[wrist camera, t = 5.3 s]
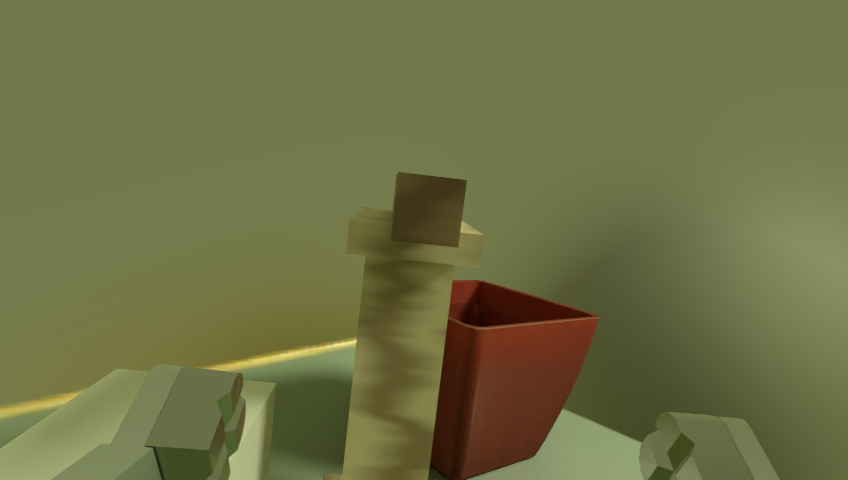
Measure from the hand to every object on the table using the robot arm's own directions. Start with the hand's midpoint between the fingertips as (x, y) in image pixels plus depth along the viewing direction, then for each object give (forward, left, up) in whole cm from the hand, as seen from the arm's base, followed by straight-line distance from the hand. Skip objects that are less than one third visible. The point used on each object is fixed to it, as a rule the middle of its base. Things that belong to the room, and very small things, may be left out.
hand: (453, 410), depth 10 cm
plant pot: (-9, -48, -25) cm, 54 cm away
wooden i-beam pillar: (0, -29, -24) cm, 37 cm away
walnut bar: (0, -25, +2) cm, 25 cm away
